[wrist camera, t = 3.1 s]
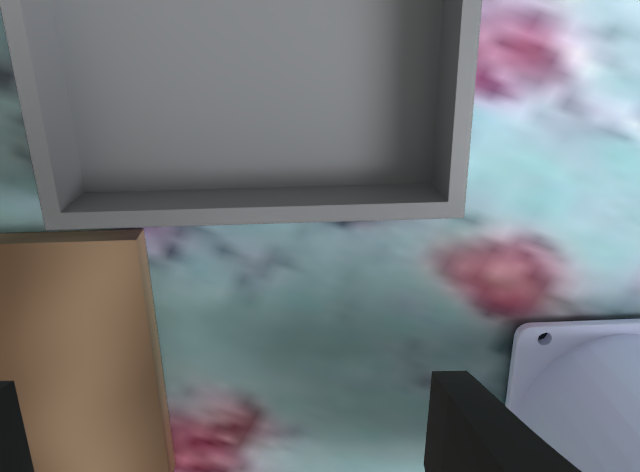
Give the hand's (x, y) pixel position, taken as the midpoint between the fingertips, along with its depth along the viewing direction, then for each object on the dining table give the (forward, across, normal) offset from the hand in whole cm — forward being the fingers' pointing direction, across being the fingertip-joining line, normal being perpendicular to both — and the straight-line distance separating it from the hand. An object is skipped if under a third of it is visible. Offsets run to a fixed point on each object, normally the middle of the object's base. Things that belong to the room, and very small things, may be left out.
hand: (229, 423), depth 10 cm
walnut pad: (+10, +9, +5) cm, 14 cm away
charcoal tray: (+10, 0, -7) cm, 12 cm away
